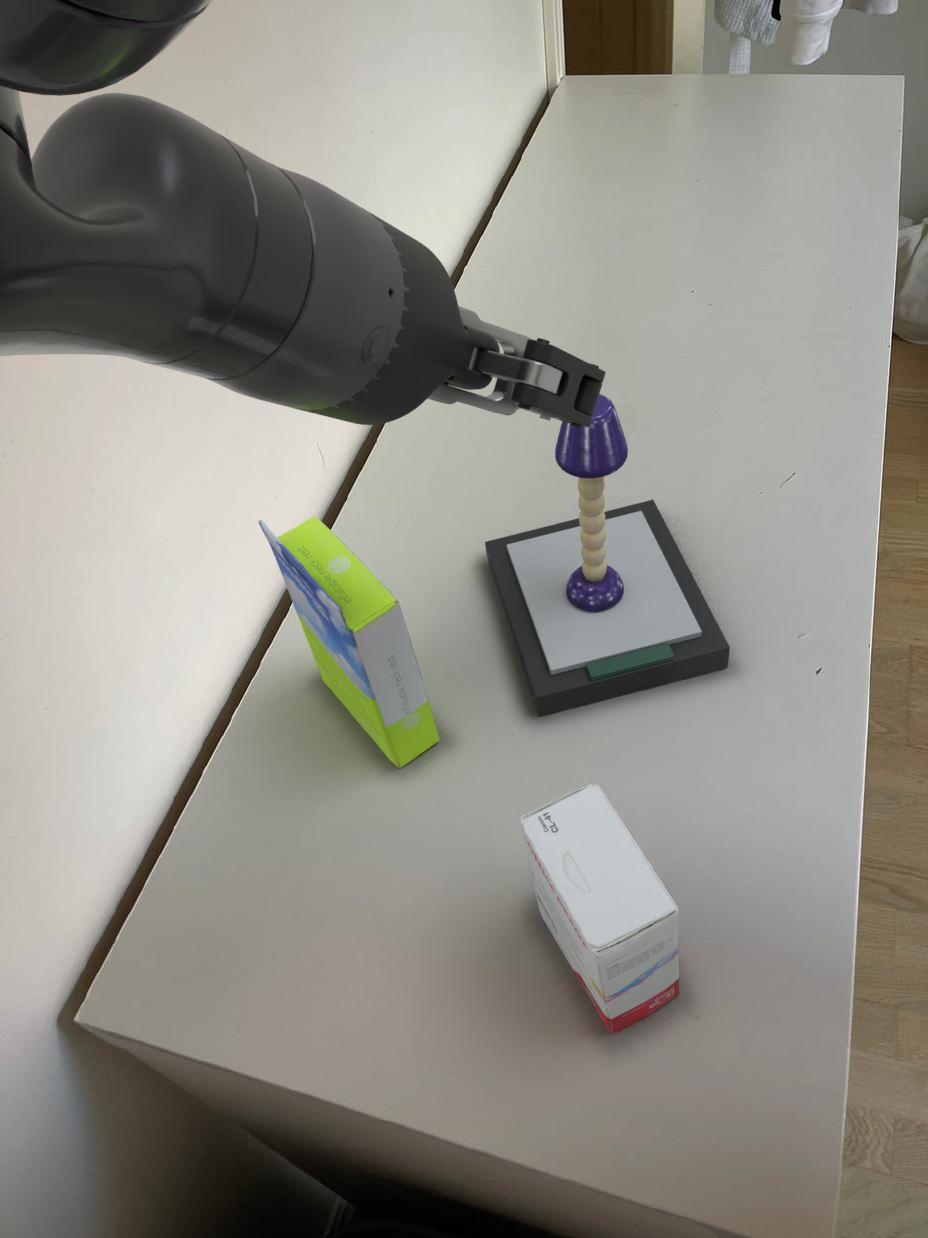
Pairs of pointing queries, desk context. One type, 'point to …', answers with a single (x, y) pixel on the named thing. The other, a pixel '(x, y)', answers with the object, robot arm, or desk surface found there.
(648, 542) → the scale
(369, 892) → the desk surface
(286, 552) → the box
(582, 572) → the toy lamp
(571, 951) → the ink box
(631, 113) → the desk surface
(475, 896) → the desk surface
